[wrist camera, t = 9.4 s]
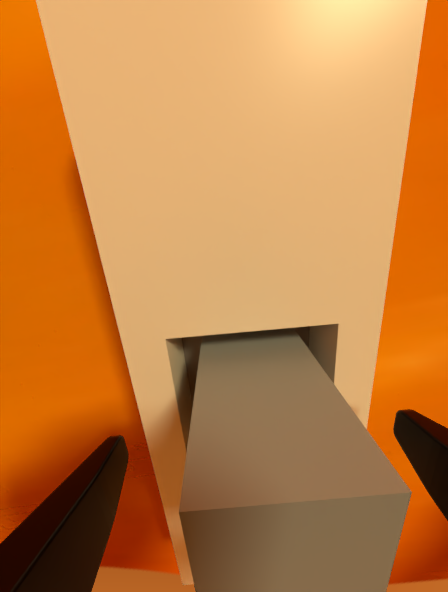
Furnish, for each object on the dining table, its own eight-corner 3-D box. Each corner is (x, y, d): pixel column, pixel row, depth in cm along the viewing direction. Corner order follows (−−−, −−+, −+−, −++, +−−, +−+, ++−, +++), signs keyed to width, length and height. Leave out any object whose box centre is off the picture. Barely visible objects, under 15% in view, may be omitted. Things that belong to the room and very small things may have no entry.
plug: (289, 321, 11) (411, 491, 4) (288, 392, 12) (380, 613, 5) (202, 329, 11) (178, 512, 4) (211, 399, 12) (203, 628, 5)
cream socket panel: (348, 57, 8) (434, -50, 5) (319, 497, 16) (346, 570, 13) (105, 79, 8) (31, -15, 5) (190, 508, 16) (182, 585, 13)
